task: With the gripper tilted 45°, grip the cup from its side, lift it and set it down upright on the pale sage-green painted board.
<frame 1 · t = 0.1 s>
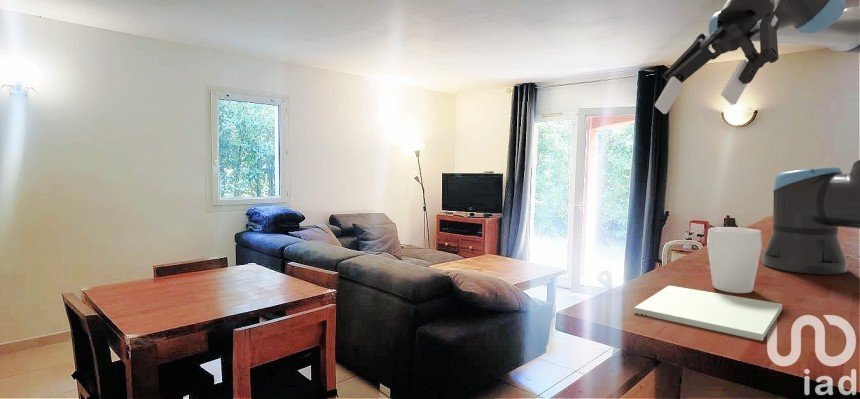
hand: (691, 105, 75), 36 cm above the counter, tool tilted 35°, fingers open, 13 cm apart
cup: (732, 289, 88), on the counter
sage board: (707, 311, 76), on the counter
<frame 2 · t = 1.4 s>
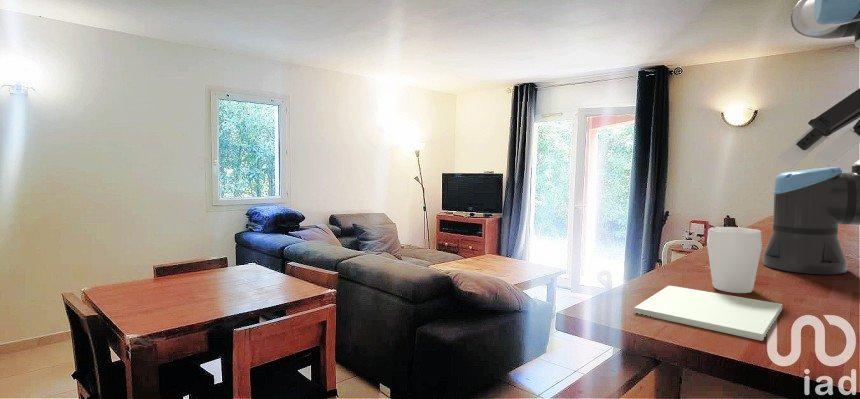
hand: (803, 161, 76), 25 cm above the counter, tool tilted 45°, fingers open, 13 cm apart
nothing on the counter moved.
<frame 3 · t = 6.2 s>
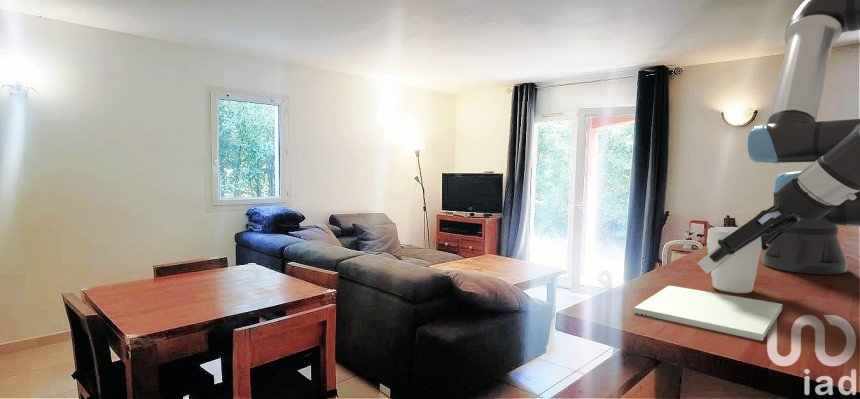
hand: (716, 264, 91), 4 cm above the counter, tool tilted 45°, fingers closed on cup, 9 cm apart
cup: (732, 289, 88), on the counter, touching gripper
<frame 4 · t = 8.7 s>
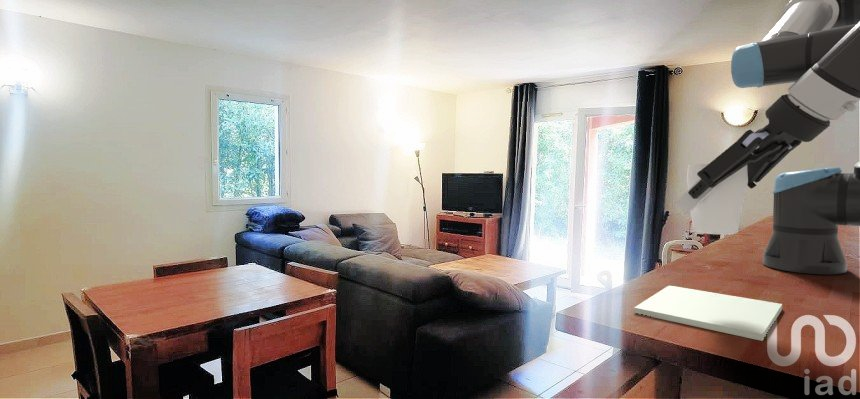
hand: (696, 206, 80), 18 cm above the counter, tool tilted 45°, fingers closed on cup, 9 cm apart
cup: (714, 233, 77), point 13 cm above the counter, touching gripper
when the fingers open (7 cm above the counter, at t = 11.3 s): cup drops 1 cm, resting on sage board.
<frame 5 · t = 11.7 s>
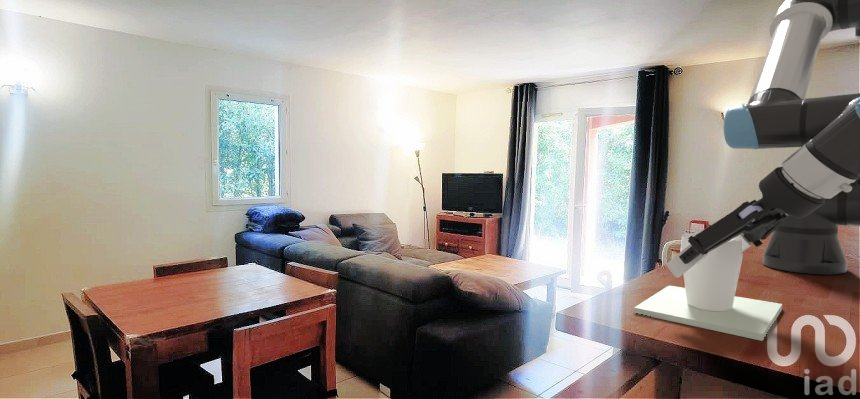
hand: (695, 265, 77), 8 cm above the counter, tool tilted 45°, fingers open, 13 cm apart
cup: (709, 306, 76), point 1 cm above the counter, touching sage board
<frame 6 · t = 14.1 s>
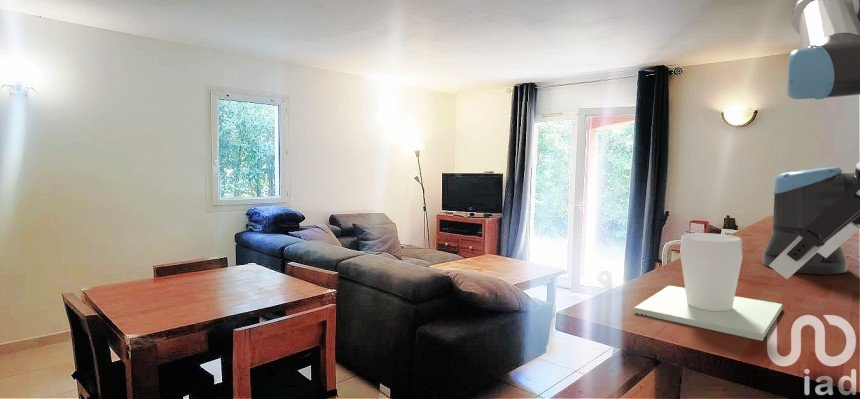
hand: (799, 261, 67), 10 cm above the counter, tool tilted 35°, fingers open, 13 cm apart
nothing on the counter moved.
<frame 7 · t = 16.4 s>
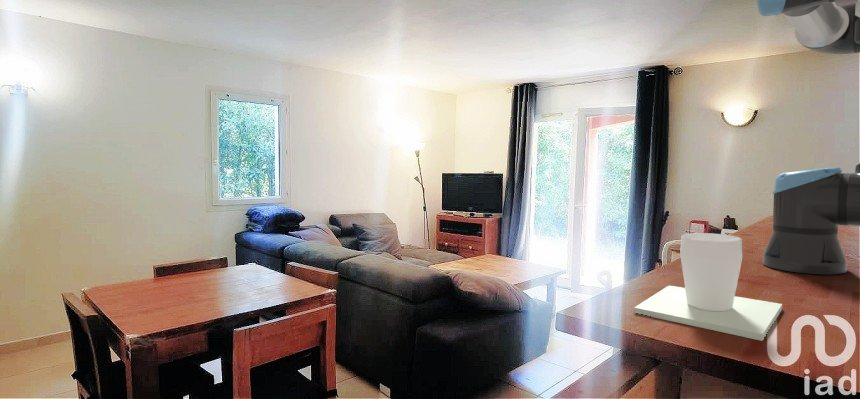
nothing on the counter moved.
at the end: cup inside the target area on the sage board (0.2 cm from its centre), point 0.8 cm above the sage board's base; cup tilted 0°; the gripper is holding nothing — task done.
